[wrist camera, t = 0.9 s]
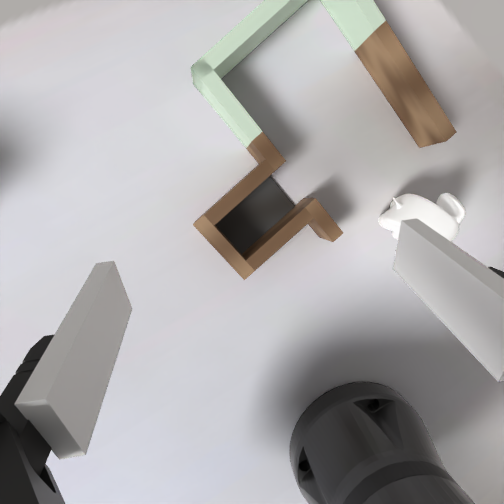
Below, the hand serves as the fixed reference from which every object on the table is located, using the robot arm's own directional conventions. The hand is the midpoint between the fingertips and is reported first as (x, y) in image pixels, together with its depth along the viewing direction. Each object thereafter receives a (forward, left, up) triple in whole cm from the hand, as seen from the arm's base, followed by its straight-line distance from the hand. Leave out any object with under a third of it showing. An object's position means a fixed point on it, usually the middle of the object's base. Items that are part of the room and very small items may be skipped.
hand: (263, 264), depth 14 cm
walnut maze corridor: (0, -9, -15) cm, 18 cm away
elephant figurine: (-10, -13, -16) cm, 23 cm away
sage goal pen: (+9, -13, -15) cm, 22 cm away
